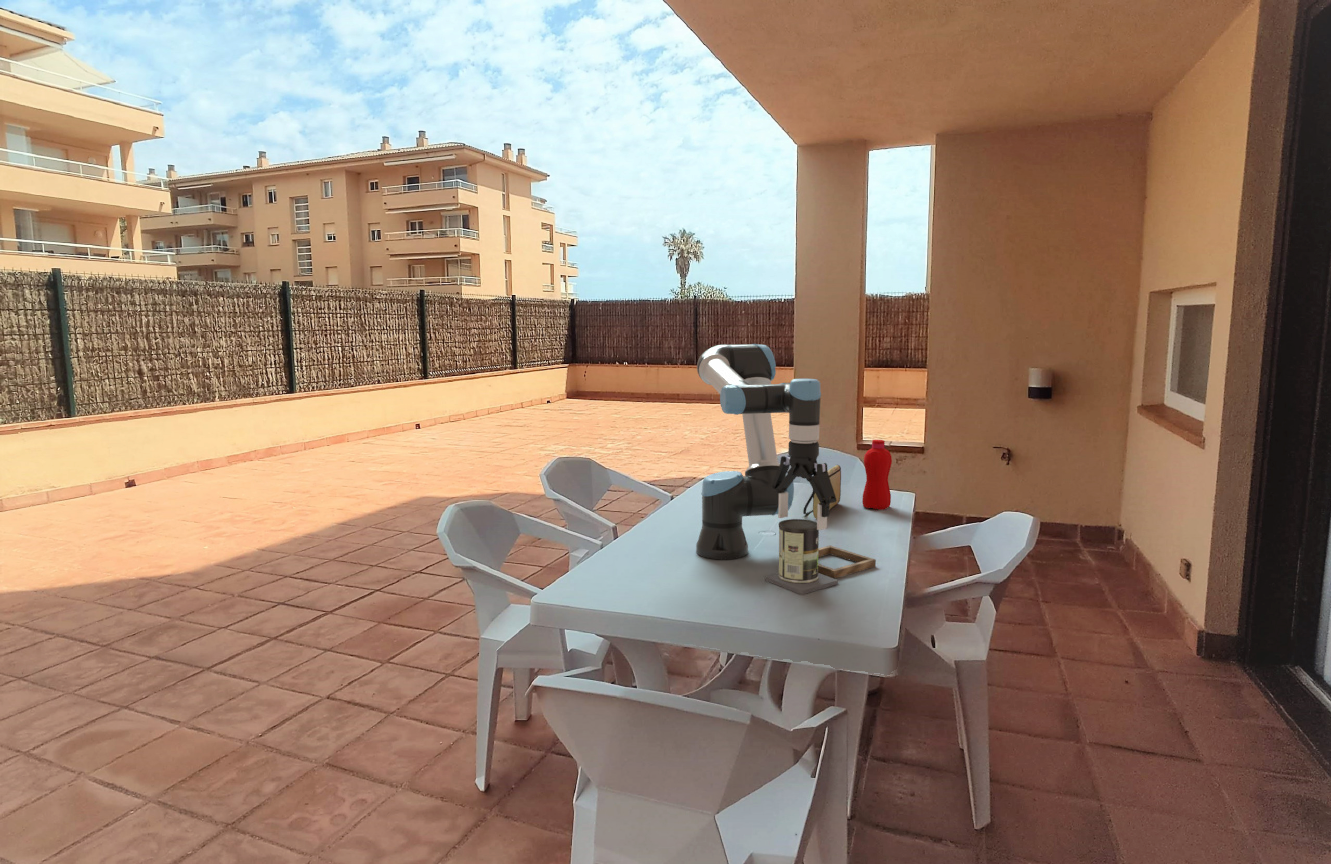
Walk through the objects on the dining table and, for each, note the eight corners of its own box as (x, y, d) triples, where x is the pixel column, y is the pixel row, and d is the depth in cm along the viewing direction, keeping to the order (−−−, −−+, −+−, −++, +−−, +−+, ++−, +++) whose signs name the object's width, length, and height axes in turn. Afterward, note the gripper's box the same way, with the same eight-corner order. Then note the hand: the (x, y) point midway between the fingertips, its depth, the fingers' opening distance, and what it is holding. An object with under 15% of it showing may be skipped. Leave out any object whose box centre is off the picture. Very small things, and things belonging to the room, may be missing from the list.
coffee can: (814, 570, 191) (815, 518, 189) (821, 583, 181) (823, 529, 179) (775, 570, 191) (775, 518, 189) (780, 583, 181) (781, 529, 179)
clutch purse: (823, 501, 274) (824, 462, 272) (841, 503, 271) (842, 464, 269) (799, 519, 248) (799, 476, 246) (818, 521, 245) (819, 478, 243)
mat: (801, 594, 176) (801, 590, 176) (765, 580, 187) (765, 576, 187) (838, 583, 183) (838, 580, 183) (801, 570, 194) (801, 567, 194)
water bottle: (893, 505, 267) (896, 438, 263) (885, 511, 257) (887, 442, 254) (868, 502, 271) (870, 436, 268) (860, 508, 262) (861, 440, 259)
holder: (834, 578, 187) (834, 571, 187) (789, 562, 201) (789, 555, 201) (875, 566, 197) (875, 559, 197) (829, 552, 210) (830, 545, 210)
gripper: (853, 446, 172) (850, 531, 175) (779, 433, 192) (778, 510, 196) (831, 449, 168) (828, 537, 171) (758, 435, 188) (757, 514, 191)
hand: (801, 523), depth 183 cm, fingers open, 13 cm apart
